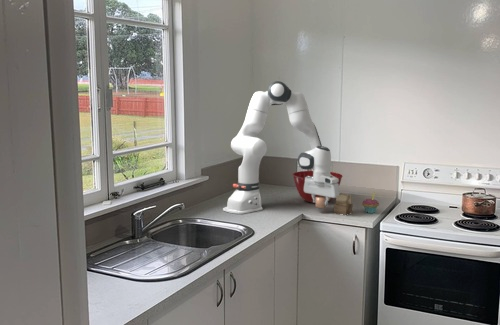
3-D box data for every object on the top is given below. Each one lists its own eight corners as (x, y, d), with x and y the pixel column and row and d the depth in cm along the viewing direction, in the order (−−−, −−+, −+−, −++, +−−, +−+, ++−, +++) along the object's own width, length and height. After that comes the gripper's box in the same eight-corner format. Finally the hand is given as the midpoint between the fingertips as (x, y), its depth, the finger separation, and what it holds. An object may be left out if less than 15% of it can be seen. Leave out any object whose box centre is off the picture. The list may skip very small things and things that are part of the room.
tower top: (345, 205, 265) (345, 196, 264) (336, 204, 269) (336, 194, 268) (350, 204, 269) (351, 194, 268) (341, 202, 273) (341, 193, 272)
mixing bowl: (319, 193, 318) (319, 168, 315) (352, 202, 294) (353, 175, 292) (282, 198, 302) (282, 173, 300) (314, 208, 279) (314, 180, 276)
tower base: (345, 215, 265) (345, 206, 264) (333, 213, 269) (334, 204, 268) (352, 213, 270) (352, 203, 269) (340, 211, 275) (340, 201, 274)
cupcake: (380, 211, 273) (381, 189, 271) (375, 215, 266) (376, 192, 264) (365, 209, 278) (366, 187, 276) (359, 212, 271) (360, 190, 269)
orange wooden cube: (321, 208, 267) (322, 198, 266) (313, 206, 270) (313, 197, 269) (327, 206, 271) (327, 197, 270) (318, 205, 274) (319, 195, 273)
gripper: (301, 175, 273) (300, 201, 275) (334, 181, 259) (333, 207, 261) (308, 174, 277) (307, 199, 279) (341, 179, 264) (340, 205, 266)
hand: (320, 203), depth 270 cm, fingers closed on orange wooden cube, 5 cm apart
